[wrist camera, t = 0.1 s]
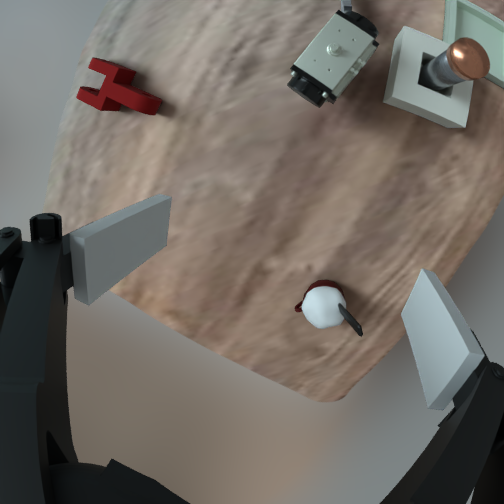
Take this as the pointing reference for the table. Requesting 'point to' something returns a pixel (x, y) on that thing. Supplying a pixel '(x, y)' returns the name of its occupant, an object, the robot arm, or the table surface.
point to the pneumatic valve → (334, 58)
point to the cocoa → (326, 306)
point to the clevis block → (416, 96)
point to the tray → (477, 33)
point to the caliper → (346, 6)
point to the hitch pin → (455, 65)
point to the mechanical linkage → (117, 90)
